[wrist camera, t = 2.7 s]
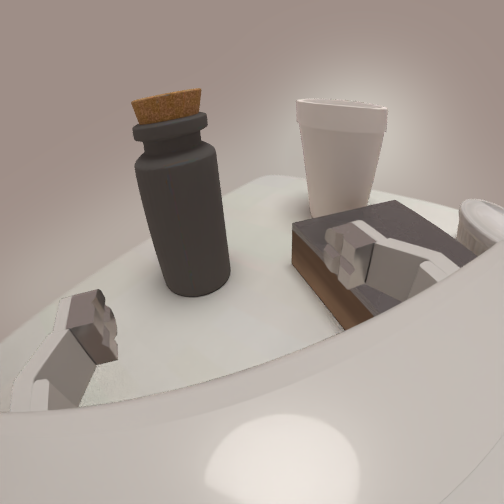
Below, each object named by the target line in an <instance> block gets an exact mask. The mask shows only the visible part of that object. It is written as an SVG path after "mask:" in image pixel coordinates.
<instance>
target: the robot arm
mask: <svg viewBox="0 0 504 504" xmlns="http://www.w3.org/2000/svg"><path fill="white" fill-rule="evenodd" d="M325 240H326V242H327V245H326V246H325V248H324V252H323V258H324V262H325V264H326V266H327V268H328V269H329V270H330V271H331V272H332V273H335V274H338V280H339V281H340V282H341V283H342V284H343V285H344V286H345V287H346V289H347V290H349V289H351V288H354V287H357V286H360V285H362V284H365V283H366V285H368V286H370V287H372V288H374V289H376V290H379V291H381V292H383V293H385V294H387V295H389V296H391V297H393V298H395V299H397V300H399V301H401V302H402V303H400V304H398V305H396V306H394V307H393V308H391V309H389V310H387V311H385V312H383V313H381V314H379V315H377V316H375V317H373V318H371V319H369V320H367V321H365V322H362V323H360V324H358V325H356V326H354V327H352V328H350V329H348V330H345V331H343V332H341V333H339V334H336V335H334V336H332V337H330V338H327V339H325V340H323V341H320V342H318V343H315V344H313V345H310V346H308V347H306V348H303V349H300V350H298V351H295V352H293V353H290V354H288V355H285V356H282V357H280V358H277V359H274V360H271V361H269V362H266V363H263V364H260V365H257V366H254V367H251V368H248V369H245V370H242V371H239V372H236V373H233V374H229V375H226V376H223V377H219V378H216V379H213V380H209V381H206V382H202V383H198V384H195V385H191V386H187V387H183V388H179V389H175V390H171V391H167V392H163V393H158V394H154V395H149V396H144V397H139V398H134V399H129V400H124V401H118V402H112V403H106V404H100V405H93V406H85V407H79V404H80V402H81V400H82V397H83V395H84V393H85V391H86V388H87V386H88V384H89V382H90V380H91V378H92V375H93V373H94V371H95V369H96V367H97V366H96V365H99V364H103V363H108V362H112V361H116V360H118V344H117V343H116V341H115V340H114V339H115V337H116V336H117V325H116V320H115V317H114V315H113V312H112V310H111V308H109V307H108V306H106V305H105V297H104V295H103V293H102V291H101V290H99V289H97V290H93V291H89V292H85V293H80V294H76V295H74V296H69V297H65V298H62V299H61V300H60V301H59V305H58V309H57V314H56V318H55V323H54V327H53V332H52V333H50V334H48V336H47V337H46V338H45V339H44V341H43V342H42V343H41V345H40V346H39V347H38V348H37V350H36V351H35V352H34V354H33V355H32V356H31V358H30V359H29V361H28V362H27V363H26V365H25V366H24V367H23V369H22V370H21V372H20V373H19V375H18V376H17V377H16V379H15V380H14V382H13V389H12V395H11V403H10V412H0V504H504V241H499V242H498V243H496V244H495V245H493V246H492V247H491V248H489V249H488V250H487V251H485V252H484V253H482V254H481V255H479V256H478V257H477V258H475V259H474V260H472V261H471V262H469V263H468V264H466V265H465V266H463V267H461V268H460V267H458V266H457V265H456V264H455V263H453V262H452V261H451V260H450V259H448V258H447V257H446V256H444V255H443V254H442V253H440V252H437V251H433V250H430V249H427V248H423V247H420V246H417V245H413V244H410V243H406V242H403V241H399V240H396V239H392V238H388V239H387V238H386V237H384V236H383V235H382V234H380V233H379V232H378V231H376V230H375V229H374V228H372V227H371V226H369V225H368V224H367V223H365V222H364V221H362V220H356V221H353V222H350V223H347V224H344V225H340V226H337V227H333V228H329V229H327V230H326V233H325Z"/></svg>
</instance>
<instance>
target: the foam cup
mask: <svg viewBox="0 0 504 504" xmlns="http://www.w3.org/2000/svg"><path fill="white" fill-rule="evenodd" d="M296 108H297V122H298V123H299V127H300V133H301V140H302V147H303V155H304V162H305V170H306V178H307V187H308V196H309V205H310V213H311V215H312V218H317V217H321V216H325V215H330V214H334V213H339V212H343V211H347V210H352V209H356V208H361V207H365V206H367V203H368V199H369V196H370V192H371V188H372V184H373V180H374V176H375V172H376V168H377V164H378V159H379V154H380V150H381V146H382V141H383V136H384V132H386V129H387V108H386V107H383V106H379V105H374V104H369V103H364V102H356V101H348V100H336V99H335V100H334V99H300V100H297V101H296Z"/></svg>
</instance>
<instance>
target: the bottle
mask: <svg viewBox="0 0 504 504" xmlns="http://www.w3.org/2000/svg"><path fill="white" fill-rule="evenodd" d="M200 97H201V89H200V88H198V89H189V90H183V91H177V92H172V93H166V94H161V95H156V96H151V97H146V98H142V99H138V100H134V101H132V102H131V104H132V106H133V109H134V111H135V114H136V117H137V119H138V122H139V124H137V125H136V126H134V127H133V136H134V139H135V140H136V141H141V142H143V144H144V150H145V152H144V153H143V154H142V155H141V156H140V157H139V158H138V160H137V161H136V163H135V172H136V178H137V182H138V187H139V191H140V195H141V200H142V203H143V207H144V211H145V215H146V219H147V223H148V226H149V230H150V234H151V237H152V241H153V244H154V248H155V251H156V254H157V258H158V261H159V264H160V267H161V270H162V273H163V276H164V279H165V282H166V284H167V286H168V287H169V289H170V290H171V291H173V292H174V293H176V294H179V295H183V296H201V295H205V294H208V293H211V292H213V291H215V290H216V289H218V288H220V287H221V286H222V285H223V284H224V283H225V282H226V281H227V279H228V278H229V275H230V261H229V253H228V245H227V237H226V229H225V221H224V213H223V205H222V197H221V189H220V181H219V173H218V164H217V157H216V151H215V148H214V147H213V146H212V145H210V144H208V143H206V142H204V141H201V136H200V130H202V129H204V128H205V127H207V125H208V124H207V115H206V113H203V112H199V106H200Z"/></svg>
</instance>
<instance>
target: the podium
mask: <svg viewBox="0 0 504 504" xmlns="http://www.w3.org/2000/svg"><path fill="white" fill-rule="evenodd" d="M356 220H362V221H364V222H365V223H367V224H368V225H369V226H371V227H372V228H374V229H375V230H376V231H378V232H379V233H380V234H382V235H383V236H384V237H386V238H387V239H388V238H392V239H396V240H399V241H403V242H406V243H410V244H413V245H417V246H420V247H423V248H427V249H430V250H433V251H437V252H440V253H442V254H443V255H444V256H446V257H447V258H448V259H450V260H451V261H452V262H453V263H455V264H456V265H457V266H458V267H460V268H461V267H463V266H465V265H466V264H468V263H469V262H471V261H472V260H474V259H475V258H477V257H478V256H477V255H475V254H474V253H473V252H472V251H470V250H469V249H468V248H466V247H465V246H464V245H462V244H461V243H460V242H458V241H457V240H455V239H454V238H453V237H451V236H450V235H448V234H447V233H446V232H444V231H443V230H441V229H440V228H438V227H437V226H435V225H434V224H432V223H431V222H429V221H428V220H426V219H425V218H423V217H422V216H420V215H419V214H417V213H416V212H414V211H412V210H411V209H409V208H408V207H406V206H404V205H403V204H401V203H400V202H398V201H396V200H393V201H388V202H384V203H379V204H374V205H370V206H365V207H361V208H356V209H352V210H347V211H343V212H339V213H334V214H330V215H325V216H321V217H317V218H312V219H308V220H304V221H300V222H295V223H292V264H293V266H294V267H295V268H296V269H297V270H298V272H299V273H300V274H301V275H302V277H303V278H304V279H305V280H306V282H307V283H308V284H309V285H310V287H311V288H312V289H313V290H314V291H315V293H316V294H317V295H318V296H319V298H320V299H321V300H322V302H323V303H324V304H325V305H326V307H327V308H328V309H329V310H330V312H331V313H332V314H333V315H334V317H335V318H336V319H337V320H338V322H339V323H340V324H341V326H342V327H343V328H344V329H345V330H348V329H350V328H352V327H354V326H356V325H358V324H360V323H362V322H365V321H367V320H369V319H371V318H373V317H375V316H377V315H379V314H381V313H383V312H385V311H387V310H389V309H391V308H393V307H394V306H396V305H398V304H400V303H402V302H401V301H399V300H397V299H395V298H393V297H391V296H389V295H387V294H385V293H383V292H381V291H379V290H376V289H374V288H372V287H370V286H368V285H366V283H365V284H362V285H360V286H357V287H354V288H351V289H349V290H347V289H346V287H345V286H344V285H343V284H342V283H341V282H340V281H339V280H338V274H335V273H332V272H331V271H330V270H329V269H328V268H327V266H326V264H325V262H324V258H323V252H324V248H325V246H326V245H327V242H326V240H325V233H326V230H327V229H329V228H333V227H337V226H340V225H344V224H347V223H350V222H353V221H356Z"/></svg>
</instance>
